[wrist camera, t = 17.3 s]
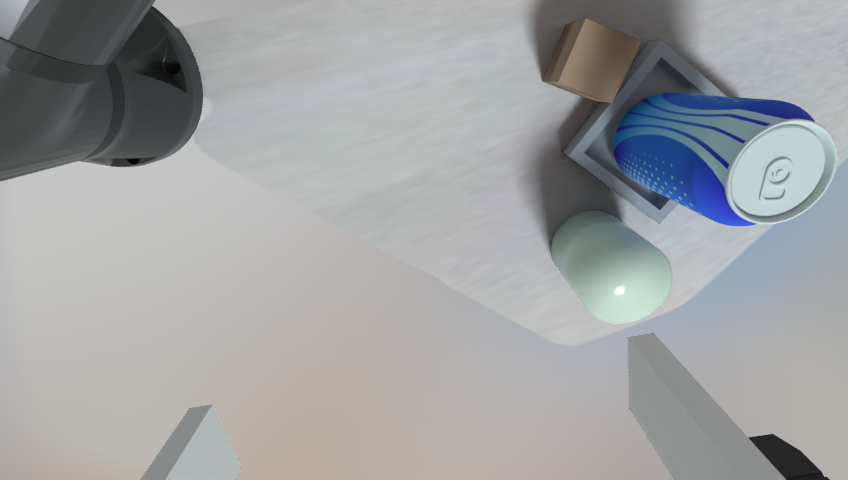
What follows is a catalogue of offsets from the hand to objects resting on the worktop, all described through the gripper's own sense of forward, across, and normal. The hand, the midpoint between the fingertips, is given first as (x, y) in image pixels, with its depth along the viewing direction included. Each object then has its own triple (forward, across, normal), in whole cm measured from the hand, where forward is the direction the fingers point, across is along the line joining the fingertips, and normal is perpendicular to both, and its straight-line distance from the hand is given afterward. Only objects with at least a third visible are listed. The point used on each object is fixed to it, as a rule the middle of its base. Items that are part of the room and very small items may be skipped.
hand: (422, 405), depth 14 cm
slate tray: (+32, +23, 0) cm, 39 cm away
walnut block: (+32, +16, +8) cm, 37 cm away
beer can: (+31, +23, 0) cm, 39 cm away
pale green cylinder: (+32, +16, -11) cm, 37 cm away
